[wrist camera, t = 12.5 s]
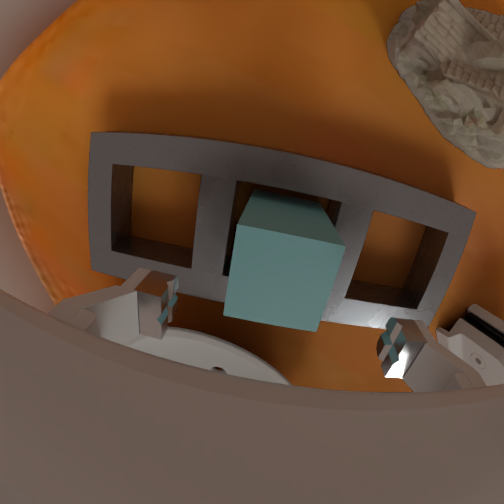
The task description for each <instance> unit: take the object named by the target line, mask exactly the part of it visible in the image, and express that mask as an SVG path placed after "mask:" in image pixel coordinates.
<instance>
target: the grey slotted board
mask: <svg viewBox="0 0 504 504" xmlns="http://www.w3.org/2000/svg"><path fill="white" fill-rule="evenodd" d="M134 166H140V167H149V168H158V169H166V170H174V171H181V172H189V173H196V174H202V176H201V184H200V192H199V200H198V208H197V217H196V226H195V236H194V246H193V249H192V248H187V247H182V246H177V245H172V244H167V243H162V242H157V241H152V240H147V239H143V238H138V237H133V236H131V203H132V184H133V170H134ZM242 181H245V182H251V183H256V184H261V185H267V186H272V187H277V188H282V189H287V190H291V191H296V192H301V193H305V194H310V195H314V196H319V197H323V198H327V199H331V200H330V204H329V208H328V212H327V216H328V217H329V219H330V221H331V222H332V224H333V226H334V227H335V229H336V231H337V232H338V234H339V236H340V237H341V239H342V241H343V242H344V244H345V246H346V247H345V251H344V254H343V257H342V260H341V263H340V266H339V269H338V272H337V275H336V278H335V281H334V284H333V287H332V290H331V293H330V296H329V299H328V301H327V304H326V307H325V310H324V312H323V315H322V318H321V320H322V321H329V322H336V323H342V324H350V325H357V326H364V327H372V328H381V329H386V327H385V325H386V324H387V322H388V320H389V319H390V318H391V317H392V318H402V319H412V320H421V321H423V322H424V323H425V325H426V326H427V328H428V327H429V325H430V323H431V321H432V319H433V317H434V315H435V313H436V311H437V310H438V308H439V306H440V304H441V302H442V300H443V297H444V295H445V293H446V291H447V289H448V287H449V285H450V282H451V280H452V278H453V276H454V273H455V271H456V268H457V266H458V264H459V261H460V259H461V256H462V253H463V251H464V248H465V245H466V243H467V240H468V237H469V234H470V231H471V228H472V225H473V222H474V219H475V215H476V212H475V211H473V210H471V209H469V208H467V207H465V206H463V205H460V204H458V203H456V202H454V201H452V200H449V199H447V198H444V197H442V196H439V195H437V194H434V193H431V192H429V191H426V190H423V189H420V188H418V187H415V186H412V185H409V184H406V183H403V182H400V181H397V180H394V179H391V178H388V177H385V176H382V175H379V174H375V173H372V172H369V171H365V170H362V169H358V168H355V167H351V166H347V165H344V164H340V163H336V162H332V161H328V160H324V159H320V158H316V157H312V156H307V155H303V154H298V153H293V152H289V151H284V150H279V149H274V148H268V147H263V146H257V145H251V144H245V143H239V142H232V141H226V140H218V139H211V138H203V137H194V136H184V135H173V134H161V133H146V132H124V131H108V132H91V141H90V153H89V172H88V225H89V244H90V257H91V267H92V270H94V271H97V272H101V273H104V274H108V275H112V276H115V277H119V278H123V279H126V280H127V279H128V278H129V277H130V276H131V275H132V274H133V273H134V272H135V271H136V270H137V269H138V268H139V267H142V268H147V269H151V270H154V271H158V272H162V273H166V274H170V275H174V276H178V279H179V288H178V289H177V291H176V292H178V293H183V294H187V295H191V296H196V297H200V298H205V299H209V300H214V301H219V302H223V303H225V299H226V293H227V286H228V279H229V273H230V266H231V260H232V256H230V252H231V246H232V239H233V233H234V227H235V220H236V214H237V208H238V202H239V196H240V190H241V184H242ZM373 210H375V211H379V212H382V213H386V214H389V215H393V216H396V217H400V218H403V219H407V220H410V221H413V222H417V223H420V224H423V225H426V226H427V227H426V230H425V233H424V236H423V239H422V242H421V245H420V247H419V250H418V253H417V255H416V258H415V261H414V263H413V266H412V268H411V271H410V273H409V276H408V278H407V281H406V283H405V285H404V288H403V289H399V288H394V287H389V286H383V285H378V284H372V283H367V282H362V281H356V280H351V279H352V276H353V273H354V270H355V268H356V265H357V262H358V259H359V256H360V253H361V250H362V247H363V244H364V240H365V237H366V234H367V231H368V228H369V224H370V221H371V217H372V214H373Z"/></svg>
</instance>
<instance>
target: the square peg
mask: <svg viewBox="0 0 504 504" xmlns="http://www.w3.org/2000/svg"><path fill="white" fill-rule="evenodd" d="M345 247H346V246H345V244H344V242H343V241H342V239H341V237H340V236H339V234H338V232H337V231H336V229H335V227H334V226H333V224H332V222H331V221H330V219H329V217H328V216H327V214H326V212H325V211H324V209H323V208H322V206H321V204H320V203H319V202H315V201H311V200H306V199H302V198H297V197H292V196H288V195H283V194H278V193H273V192H268V191H263V190H257V189H254V191H253V193H252V195H251V197H250V199H249V201H248V203H247V205H246V207H245V209H244V211H243V213H242V215H241V217H240V220H239V222H238V224H237V229H236V235H235V241H234V247H233V254H232V260H231V266H230V273H229V279H228V286H227V293H226V299H225V306H224V313H223V315H224V316H229V317H234V318H238V319H244V320H249V321H254V322H259V323H265V324H270V325H276V326H282V327H287V328H293V329H300V330H306V331H313V332H316V331H317V328H318V326H319V323H320V320H321V318H322V315H323V312H324V310H325V307H326V304H327V301H328V299H329V296H330V293H331V290H332V287H333V284H334V281H335V278H336V275H337V272H338V269H339V266H340V263H341V260H342V257H343V254H344V251H345Z"/></svg>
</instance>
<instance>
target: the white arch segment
mask: <svg viewBox="0 0 504 504" xmlns="http://www.w3.org/2000/svg"><path fill="white" fill-rule="evenodd" d="M467 319H468V320H467ZM467 319H466V318H464V319H461V318H459V319H458V321H457V322H456V324H455V325H454V326H453V328H452V329H451V330H450V332H448V331H446V330H445V329H443V328H441V327H438V328H437V329H436V334H437V340H438V344H441V345H442V346H444V347H445V348H447V349H448V350H449V351H451V352H452V353H454V354H455V355H456V356H458V357H459V358H460V359H462V360H463V361H465V362H466V363H467V364H469V365H470V366H471V367H473V368H474V369H475V370H477V371H478V372H479V374H480V375H481V377H482V379H483V380H484V382H485V384H486V386H493V385H500V384H504V321H502V320H501V319H499V318H498V317H496V316H495V315H493V314H491V313H490V312H488V311H487V310H485V309H483V308H482V307H480V306H479V305H477V304H472V305H471V306H470V307H469V308H468V314H467Z"/></svg>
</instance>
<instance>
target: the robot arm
mask: <svg viewBox="0 0 504 504" xmlns="http://www.w3.org/2000/svg"><path fill="white" fill-rule="evenodd" d="M178 288H179V279H178V276H174V275H170V274H166V273H162V272H158V271H154V270H151V269H147V268H142V267H139V268H138V269H137V270H136V271H135V272H134V273H133V274H132V275H131V276H130V277H129V278H128V279H127V280H126V281H125V282H124V283H123V284H122V285H121V286H118V285H116V286H112V287H108V288H105V289H101V290H97V291H93V292H90V293H86V294H82V295H79V296H75V297H71V298H67V299H64V300H62V301H61V302H60V303H59V304H58V305H56V306H55V307H54V308H53V309H52V310H51V311H50V312H49V313H48V314H47V313H44V312H42V311H40V310H38V309H36V308H34V307H32V306H30V305H28V304H26V303H24V302H22V301H21V300H19V299H17V298H15V297H13V296H12V295H10V294H8V293H6V292H4V291H3V290H1V289H0V504H504V384H500V385H493V386H486V384H485V382H484V380H483V379H482V377H481V375H480V374H479V372H478V371H477V370H475V369H474V368H473V367H471V366H470V365H469V364H467V363H466V362H465V361H463V360H462V359H460V358H459V357H458V356H456V355H455V354H454V353H452V352H451V351H449V350H448V349H447V348H445V347H444V346H442V345H441V344H438V343H437V342H436V340H435V339H434V337H433V335H432V334H431V332H430V331H429V329H428V328H427V326H426V325H425V323H424V322H423V321H421V320H412V319H402V318H392V317H391V318H390V319H389V320H388V322H387V324H386V325H385V327H386V331H385V332H384V333H383V334H381V335H380V338H379V340H378V342H377V347H376V351H377V356H378V358H379V359H380V360H382V361H383V362H382V364H381V367H382V370H383V373H384V375H385V377H391V378H403V380H404V382H405V383H406V384H407V385H408V386H409V387H410V388H411V389H412V390H413V392H359V391H343V390H330V389H320V388H310V387H302V386H294V385H286V384H280V383H273V382H267V381H261V380H255V379H250V378H244V377H239V376H234V375H229V374H225V373H220V372H216V371H211V370H207V369H203V368H199V367H195V366H191V365H187V364H183V363H180V362H176V361H172V360H169V359H165V358H162V357H159V356H155V355H152V354H149V353H146V352H143V351H140V350H136V349H133V348H130V347H128V346H125V345H122V344H124V343H126V342H128V341H130V340H132V339H133V338H135V337H137V336H139V335H140V334H141V335H145V336H149V337H152V338H156V339H160V340H162V338H163V336H164V335H165V333H166V331H167V329H168V323H169V322H172V321H173V319H174V317H175V314H176V311H177V305H178V297H177V295H176V293H175V292H176V291H177V289H178Z"/></svg>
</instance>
